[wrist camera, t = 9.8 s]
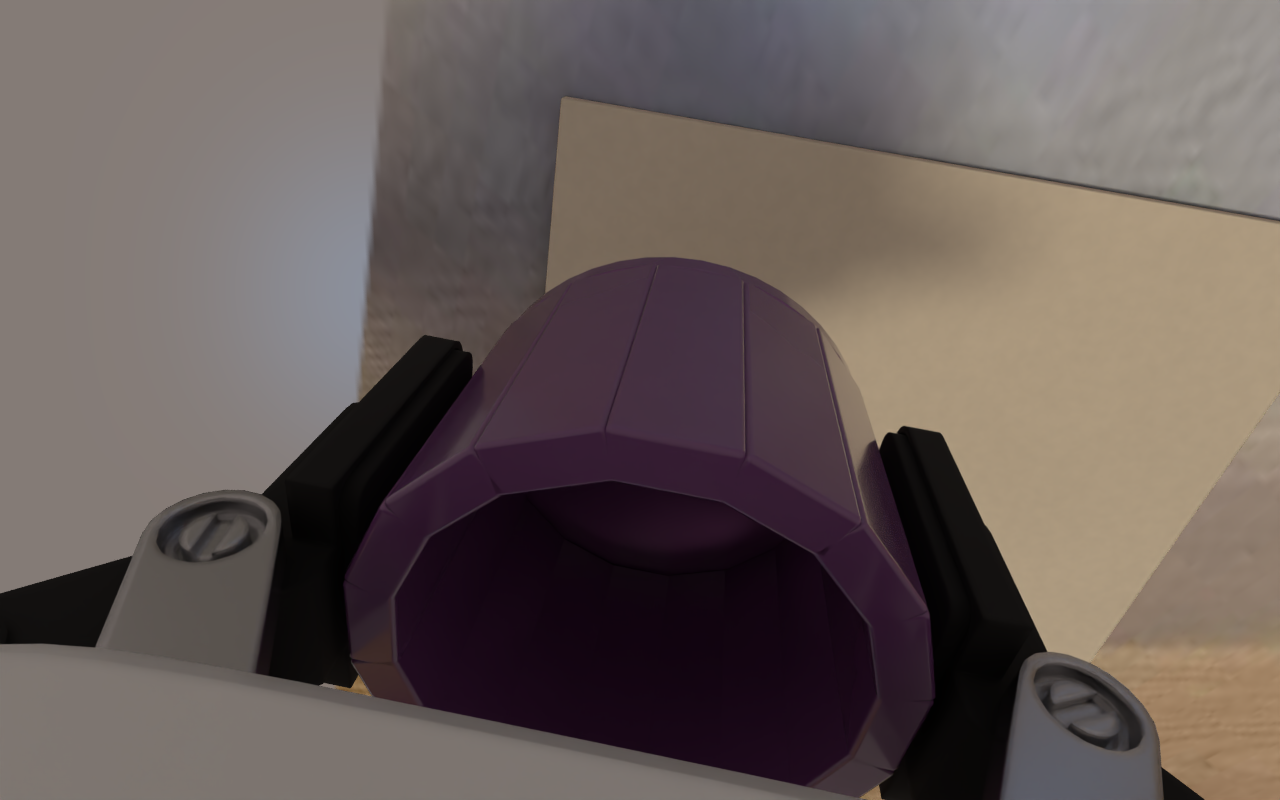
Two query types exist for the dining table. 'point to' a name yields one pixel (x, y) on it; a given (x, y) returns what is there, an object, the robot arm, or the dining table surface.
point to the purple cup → (656, 539)
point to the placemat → (974, 323)
